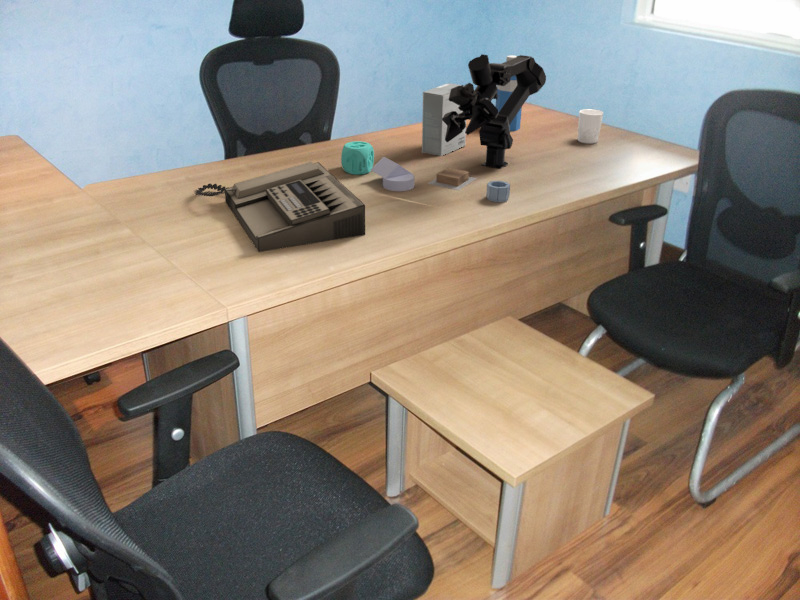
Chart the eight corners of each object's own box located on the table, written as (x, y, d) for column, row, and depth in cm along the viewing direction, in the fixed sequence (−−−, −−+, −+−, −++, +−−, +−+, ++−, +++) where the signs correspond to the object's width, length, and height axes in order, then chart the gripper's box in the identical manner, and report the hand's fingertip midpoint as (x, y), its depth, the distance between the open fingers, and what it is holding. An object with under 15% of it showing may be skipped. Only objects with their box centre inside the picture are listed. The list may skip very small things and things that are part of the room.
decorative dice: (341, 173, 224) (340, 147, 220) (349, 165, 230) (348, 140, 227) (367, 176, 222) (366, 149, 218) (374, 167, 229) (374, 142, 225)
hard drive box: (446, 142, 253) (449, 82, 244) (465, 146, 250) (469, 85, 240) (420, 153, 242) (422, 91, 233) (440, 157, 238) (443, 94, 229)
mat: (446, 173, 225) (446, 172, 224) (476, 179, 220) (476, 178, 220) (427, 184, 216) (427, 183, 215) (458, 191, 211) (458, 190, 211)
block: (447, 175, 222) (447, 167, 221) (468, 179, 219) (469, 171, 218) (436, 182, 217) (436, 174, 215) (457, 186, 213) (458, 178, 212)
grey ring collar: (492, 194, 209) (493, 179, 207) (511, 198, 207) (513, 183, 205) (483, 201, 205) (484, 185, 203) (503, 205, 202) (504, 189, 200)
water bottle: (493, 130, 267) (498, 58, 255) (494, 123, 275) (499, 53, 263) (519, 132, 266) (526, 59, 254) (520, 125, 274) (526, 54, 262)
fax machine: (190, 195, 207) (186, 162, 203) (309, 179, 220) (307, 148, 215) (225, 259, 171) (221, 220, 167) (365, 236, 184) (364, 200, 179)
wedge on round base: (370, 181, 218) (392, 194, 208) (370, 158, 215) (393, 171, 205) (396, 176, 222) (420, 189, 212) (396, 154, 219) (420, 166, 209)
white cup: (601, 144, 254) (605, 115, 249) (578, 144, 254) (581, 114, 249) (596, 137, 260) (600, 109, 256) (573, 137, 260) (577, 108, 256)
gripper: (443, 86, 217) (417, 125, 212) (484, 67, 202) (458, 108, 196) (467, 113, 222) (443, 152, 216) (509, 97, 206) (484, 137, 201)
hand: (456, 137), depth 207 cm, fingers open, 9 cm apart
